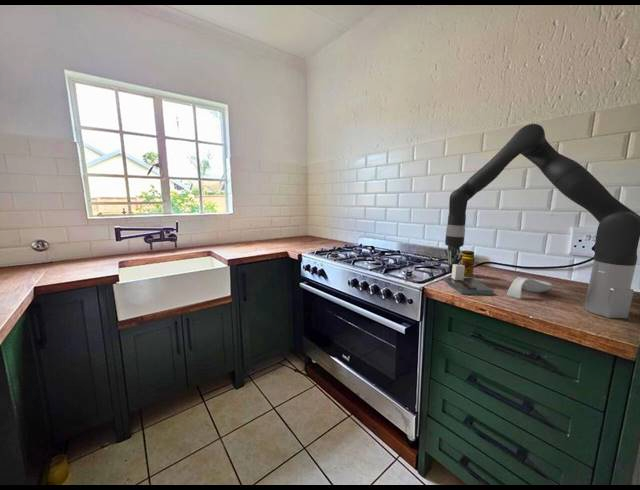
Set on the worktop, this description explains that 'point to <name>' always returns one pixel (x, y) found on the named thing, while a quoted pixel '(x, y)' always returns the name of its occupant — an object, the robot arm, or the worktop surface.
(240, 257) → the worktop surface
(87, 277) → the worktop surface
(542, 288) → the spoon rest
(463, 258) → the condiment
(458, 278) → the block
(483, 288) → the plate
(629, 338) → the worktop surface
